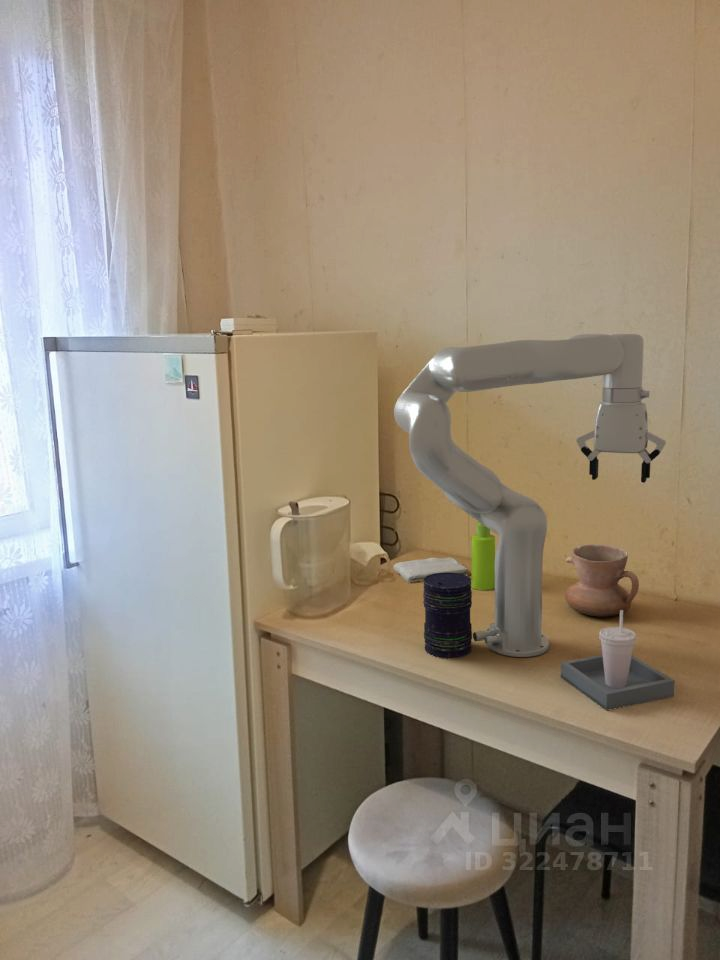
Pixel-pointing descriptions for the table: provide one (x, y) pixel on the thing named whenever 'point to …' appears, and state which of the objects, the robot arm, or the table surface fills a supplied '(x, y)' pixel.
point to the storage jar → (447, 615)
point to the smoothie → (617, 653)
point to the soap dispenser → (483, 558)
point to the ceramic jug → (600, 581)
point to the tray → (639, 688)
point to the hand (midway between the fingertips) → (619, 479)
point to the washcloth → (428, 568)
